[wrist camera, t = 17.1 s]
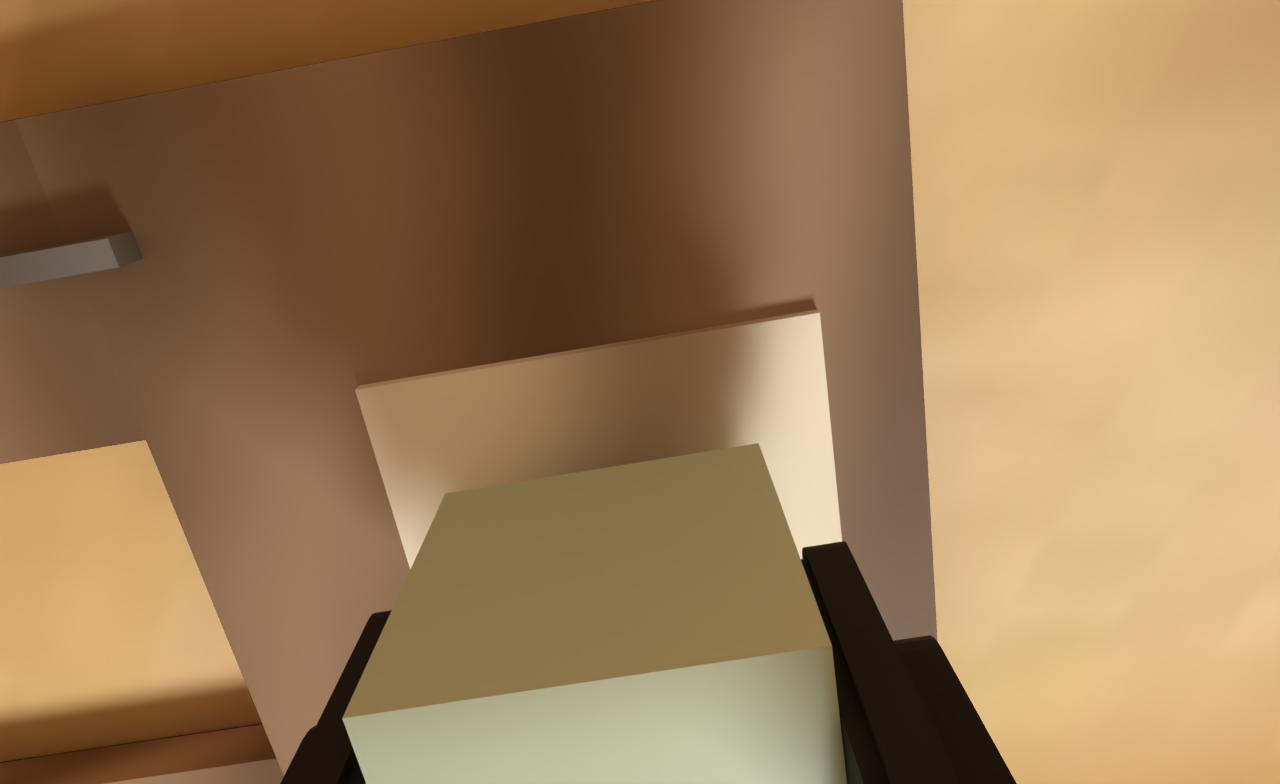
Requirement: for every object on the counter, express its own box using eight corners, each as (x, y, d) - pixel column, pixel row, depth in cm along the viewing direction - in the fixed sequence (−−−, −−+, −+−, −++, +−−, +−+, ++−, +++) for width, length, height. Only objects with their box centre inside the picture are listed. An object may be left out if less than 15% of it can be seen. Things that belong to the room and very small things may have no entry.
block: (758, 443, 11) (832, 645, 7) (793, 700, 13) (869, 989, 9) (445, 493, 12) (342, 717, 7) (515, 741, 13) (461, 1041, 9)
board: (878, -35, 12) (914, -52, 10) (931, 820, 17) (961, 890, 16) (-918, 298, 13) (-1118, 325, 11) (-334, 992, 18) (-419, 1073, 17)
